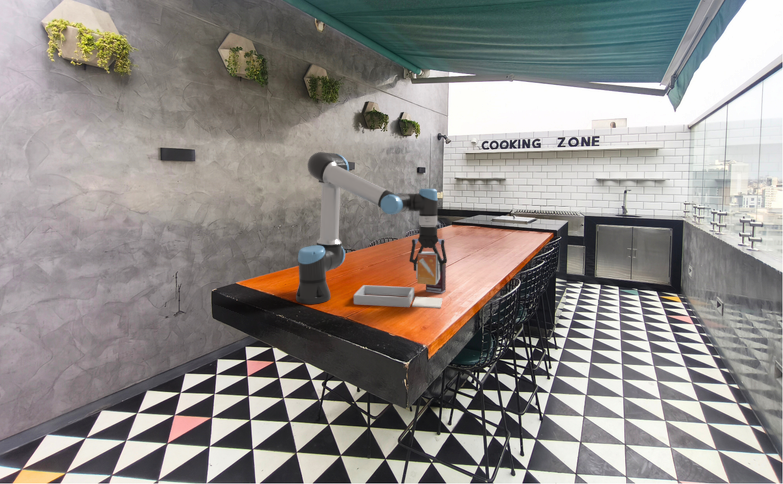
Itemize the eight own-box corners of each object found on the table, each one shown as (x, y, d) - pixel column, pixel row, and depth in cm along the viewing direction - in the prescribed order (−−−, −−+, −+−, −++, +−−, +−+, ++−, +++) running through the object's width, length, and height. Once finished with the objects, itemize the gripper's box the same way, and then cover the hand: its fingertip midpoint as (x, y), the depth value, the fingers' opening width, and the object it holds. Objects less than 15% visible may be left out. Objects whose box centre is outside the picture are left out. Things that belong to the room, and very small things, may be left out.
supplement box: (445, 291, 183) (446, 258, 180) (442, 293, 178) (442, 260, 176) (429, 289, 187) (429, 257, 184) (425, 291, 182) (425, 258, 180)
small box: (417, 284, 162) (417, 253, 160) (420, 280, 168) (420, 251, 166) (436, 285, 160) (436, 254, 158) (438, 281, 166) (439, 251, 164)
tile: (412, 306, 161) (412, 305, 161) (415, 298, 172) (415, 296, 172) (440, 308, 158) (440, 306, 158) (442, 299, 170) (442, 298, 170)
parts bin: (353, 304, 164) (353, 295, 164) (363, 293, 180) (363, 285, 179) (409, 307, 160) (409, 297, 159) (414, 295, 175) (414, 287, 175)
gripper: (401, 226, 158) (402, 279, 162) (453, 227, 154) (452, 281, 158) (404, 224, 166) (404, 275, 169) (454, 225, 162) (453, 277, 165)
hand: (428, 278), depth 164 cm, fingers closed on small box, 8 cm apart
